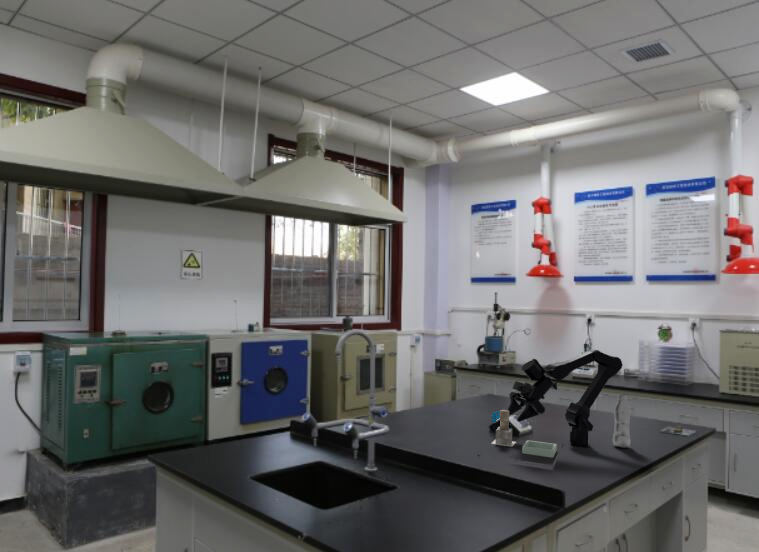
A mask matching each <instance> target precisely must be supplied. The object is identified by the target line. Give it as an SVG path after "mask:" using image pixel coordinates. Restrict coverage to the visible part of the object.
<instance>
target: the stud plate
mask: <svg viewBox="0 0 759 552" xmlns="http://www.w3.org/2000/svg"><path fill="white" fill-rule="evenodd" d="M516 443H517V441H513V440H512V443H511V444H510V445H504V444H497V443H496V438H495V439H494V440H493V441H492V442H491V445H498V446H504V447H510V448H511V447H512V448H513V446H514V445H515V444H516Z"/></svg>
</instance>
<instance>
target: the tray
mask: <svg viewBox="0 0 759 552" xmlns="http://www.w3.org/2000/svg"><path fill="white" fill-rule="evenodd" d="M557 448H558V444H557V443H550V442H544V441H543V442H542V441H535V440H526V441H525V442H524V444H523V445H522V449H521V453H522V454H526V455H531V456H539V457H545V458H546V457H547V458H554V457H555V455H556V453H557Z"/></svg>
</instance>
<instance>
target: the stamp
mask: <svg viewBox="0 0 759 552" xmlns="http://www.w3.org/2000/svg"><path fill="white" fill-rule="evenodd" d="M499 412H500V413H499V415H500V426H498V427H497V429H495V439H496V443H497V444H504V445H510V444H511V443H512V441H513V428H512V427H511V428H509V420H510V416H509V411H508V409H501V410H499ZM497 444H496V445H497ZM504 445H503V446H504Z"/></svg>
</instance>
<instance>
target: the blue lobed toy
mask: <svg viewBox="0 0 759 552" xmlns="http://www.w3.org/2000/svg"><path fill="white" fill-rule="evenodd" d="M490 418H491V422H492V423H495V422H496V420H497V419H499V418H500V410H497V411H493V412H492V414H491V416H490Z"/></svg>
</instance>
